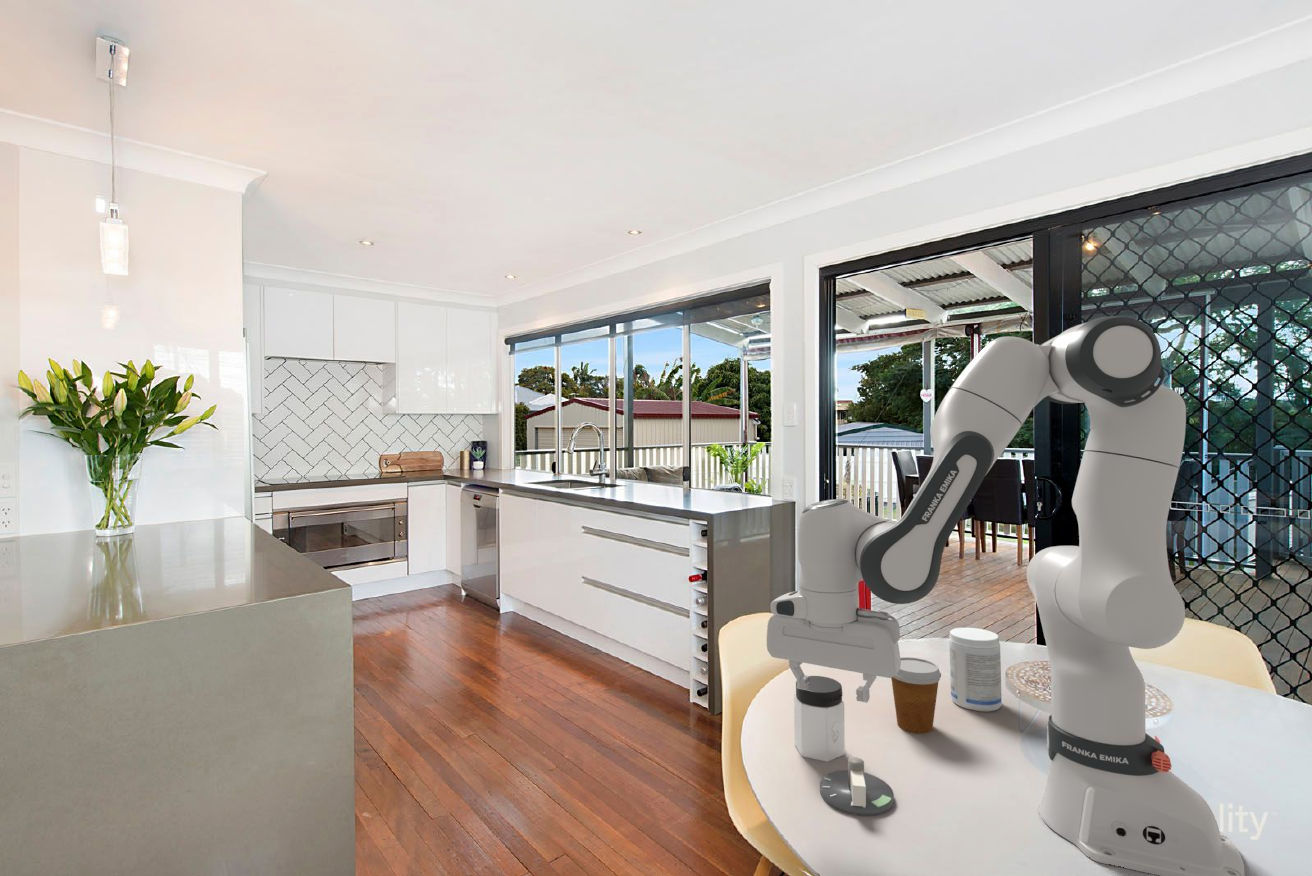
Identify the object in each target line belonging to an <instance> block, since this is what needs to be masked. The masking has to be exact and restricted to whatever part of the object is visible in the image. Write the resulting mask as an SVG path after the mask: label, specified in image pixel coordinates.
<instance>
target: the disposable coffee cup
mask: <svg viewBox="0 0 1312 876" xmlns="http://www.w3.org/2000/svg"><path fill="white" fill-rule="evenodd" d="M900 660H901V667H900V670H899V671H898V672H897V673H896V674H895V675H894V676H893V677H892V678H890V680H891V686H892V687H891V688H892V693H893V701H894V707H895V715H896V723H897V724H896V725H897V727H899V729H901V730H903V731H905V732H908V733H912V734H921V735H923V734H930V733H931V732H932V731H933V728H934V721H935V713H936V712H935V711H936V703H937V696H938V690H939V689H938V688H939V681H940V680H941V678H942V673H941V671H940V669H939V665H937V664H936V663H935V662H933V661H931V660H927V659H924V658H920V657H911V656H900Z"/></svg>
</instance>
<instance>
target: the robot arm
mask: <svg viewBox="0 0 1312 876" xmlns="http://www.w3.org/2000/svg"><path fill="white" fill-rule="evenodd" d="M1163 367H1164V366H1163V365H1162V350H1161V345H1160V342H1159V340H1158V338H1157V335H1156V334H1155V332H1154V331H1153V329H1152V328H1151V327H1150V326H1148V325H1147V324H1146V323H1144V322H1142V321H1141V320H1138V319H1135V318H1133V317H1129V316H1122V315H1119V316H1118V315H1112V316H1111V315H1110V316H1102V317H1101V316H1100V317H1098V318H1094V319H1091V320H1089V321H1087V322H1083V323H1080V324H1076V325H1074V326H1072V327H1070V328H1067V329H1066V330H1064V331H1062V332H1061V333H1060V334H1058V335H1056V336H1055V337H1052V338H1050V339H1048V340H1046V341H1044V342H1042V343H1041V344H1037V343H1034V342H1033V341H1031V340H1028V339H1026V338H1023V337H1018V336H1011V335H1008V336H1000V337H997V338H995V339H993V340H991V341H989V342H988V343H987V344H986V345H985V346H984V347H983V348H982V349H981V350H980V351H979V352H978V353H977V354H976V356H975V357H973V359H972V360H971V361H970V362H969V363H968V364H967V365H966V367H965V368H964V369H963V370H962V372H961V373H960V374H959V376H958V377H956V379H955V381H954V382H953V384H952V385H951V386H950V388H949V389H948V391H947V393H946V394H945V395H944V397H943V399H942V401H941V402H940V404H939V406H938V408H937V411H936V412H935V415H934V417H933V420H932V422H931V425H930V427H929V430H930V431H929V433H930V434H929V435H930V438H931V441H932V447H933V459H932V463H931V466H930V470H929V472H928V474H927V476H926V477H925V479H924V480H923V482H922V483H921V486H920V487H919V489H918V490H917V492H916V494H915V495H914V497H913V498H912V499H911V502H910V503H909V505H908V507H907V509H906V510H905V512H904V513H903V515H902V516H901V517H900V518H899V520H898V521H894V520H891V519H888V518H884V517H882V516H881V517H880V516H877V515H875V514H872V513H870V512H868V511H866V510H863V509H862V508H859V507H858V506H856V505H855V504H853V503H852V502H850V501H849V500H848V499H845V498H836V499H826V500H821V501H818V502H814V503H812V504H809V505H808V506H806V507H805V508H804V510H803V511H802V512H801V513H800V516H799V521H798V530H797V531H798V532H797V533H798V534H797V554H798V555H797V557H798V561H799V564H800V569H801V570H800V574H801V575H800V578H799V589H798V590H796V591H790V592H787V593H785V594H782V595H780V596H778V597H777V598H775V599H774V600H772V601H771V602H770V607H769V608H770V612H771V614H772V615H771V616H770V617H769V619H768V622H767V626H766V627H767V629H766V649H767V652H768V653H769V655H770V657H772V658H775V659H781V660H786V661H788V666H789V669H790V670H791V672H792V674H793V676H794V678H795V679H796V681H797V689H802V690H807V689H808V688H809V686H810V683H809V676H810V675H805V673H804V672H803V669H802V667H801V665H802V664H803V663H804V664H809V665H813V666H819V667H820V666H821V667H824V668H825V667H826V668H829V669H830V668H831V669H836V670H843V671H847V672H852V673H853V672H854V673H859V674H862V679H863V681H864V682H865V681H866V682H865V684H864V686H863V685H859V686H858V688H856V690H855V695H856V701H857V702H861V703H865V704H867V703H868V702H869V701H870V698H871V697H870V696H871V695H870V688H871V687H872V686H873V683H874V682H875V681H876V679H877V677H881V678H886V679H891V678H892V677H893V676H894V675H895V674H896V673H897V672H898V671H899V670H900V667H901V660H900V657H901V653H900V646H899V640H900V637H901V632H900V631H901V629H900V623H899V621H898V620H897V619H896V618H895V617H894V616H892V615H891V614H890V613H889V612H887V611H881V610H879V611H876V610H871V609H867V608H866V609H865V608H860V599H859V598H860V595H859V583H860V582H862V581H863V583H864V584H865V585H866V588H868V589H869V591H870V592H871V593H872V594H873V595H874V596H875V597H877V598H878V599H880V600H882V601H884V602H887V603H889V604H894V605H895V604H896V605H906V604H907V605H908V604H912V603H916V602H918V601H920V600H922V599H923V598H925V597H926V596H928V595H929V594H930V593H931V591H932V590H933V589H934V588H935V586H936V585H937V582H938V579H939V575H940V573H941V565H942V558H943V553H944V550H945V547H946V544H947V542H948V540H949V539H950V537H951V534H952V533H953V532H954V530H955V528H956V527H957V525H958V523H959V521H960V520H961V518H962V516H963V515H964V513H965V511H966V510H967V508H968V506H969V504H970V503H971V501H972V499H973V498H974V496H975V495H976V493H977V491H978V489H979V488H980V486H981V484H982V483H983V480H984V479H985V477H986V476H987V474H988V473H989V471H990V470H991V469H992V467H993V466H994V465H995V463H996V461H997V460H998V458H1000V456H1001V455H1002V454H1003V452H1004V451H1005V450H1006V448H1007V447H1008V445H1009V444H1011V442H1012V440H1013V439H1014V437H1015V436H1016V434H1017V433H1018V432H1019V431H1020V429H1021V427H1022V426H1023V424H1025V422H1026V420H1027V419H1028V417H1029V416H1030V413H1031V412H1032V410H1033V408H1035V407H1036V406H1037V405H1038V404H1039V403H1040V402H1041V401H1042V400H1045V401H1048V402H1052V403H1055V404H1056V403H1057V404H1062V405H1063V404H1065V405H1069V404H1070V405H1072V404H1078V403H1082V404H1083V403H1084V405H1085V407H1086V409H1087V411H1088V412H1087V413H1088V415H1089V433H1088V436H1087V440H1086V443H1085V447H1084V449H1083V450H1084V451H1083V454H1082V458H1081V462H1080V466H1079V469H1078V474H1077V477H1076V481H1075V486H1074V490H1073V493H1072V498H1071V507H1072V509H1073V512H1074V514H1075V515H1076V520H1077V524H1078V536H1079V537H1078V540H1079V542H1078V543H1079V544H1078V545H1056V546H1049V547H1046V548H1044V549H1041V550H1039V551H1038V552H1036V554H1034V555H1033V557H1032V558H1031V559H1030V561H1029V563H1028V565H1027V568H1026V582H1027V585H1028V587H1029V590H1030V592H1031V593H1032V595H1033V597H1034V599H1035V602H1036V606H1037V610H1038V614H1039V618H1040V623H1041V627H1042V632H1043V637H1044V639H1045V645H1046V648H1047V649H1046V651H1047V654H1048V659H1049V661H1048V662H1049V667H1050V694H1051V695H1050V698H1051V699H1050V700H1051V703H1050V704H1051V707H1050V708H1051V709H1050V710H1051V714H1050V715H1049V716H1048V721H1047V726H1046V744H1047V746H1046V747H1047V749H1046V750H1047V752H1048V753H1047V754H1048V757H1049V765H1048V773H1047V779H1046V784H1045V788H1044V792H1043V797H1042V799H1041V802H1040V805H1039V809H1038V811H1039V815H1040V817H1041V819H1042V820H1043V821H1044V823H1045V824H1046V825H1047V826H1048V827H1049V828H1050V829H1052V831H1054V832H1055V833H1056V834H1058V835H1060V836H1061V837H1062V838H1064V839H1066V840H1067V841H1069V842H1071V843H1072V844H1074V845H1075V846H1076V847H1078V849H1079V850H1081V852H1082V853H1083V855H1085V856H1087V857H1088V858H1089V857H1090V858H1091V860H1092V861H1095V862H1097V863H1101V864H1106V865H1109V864H1112V865H1111V866H1114V865H1115V866H1114V867H1118V866H1121V867H1120V868H1123V867H1124V869H1129V870H1133V871H1137V872H1141V873H1147V874H1151V875H1156V876H1246V872H1245V865H1244V861H1243V857H1242V856H1241V853H1240V851H1239V849H1238V848H1237V846H1236V845H1235V844H1234V843H1233V841H1232V840H1231V839H1230V838H1229V837H1228V836H1227V835H1225V834H1224V833H1223V832H1222V831H1220V829H1219V824H1218V823H1217V819H1216V816H1215V815H1214V812H1213V810H1212V809H1211V807H1210V806H1209V804H1208V802H1207V801H1206V800H1205V799H1204V797H1203V796H1202V795H1201V794H1200V793H1199V792H1197V791H1196V790H1195V789H1194V788H1192V787H1191V786H1189V784H1187V783H1186V782H1185V781H1183V780H1182V779H1180V777H1179V776H1177V775H1176V774H1175V773H1173V772H1172V771H1171V770H1172V763H1171V759H1170V757H1169V756H1168V754H1167V753H1165V747H1164V746H1163V744H1161V741H1160V740H1159V737H1157V735H1154V738H1153V737H1152V736H1150V734H1147V733H1146V682H1145V678H1144V676H1143V673H1142V672H1141V670H1140V668H1139V667H1138V666H1137V664H1136V662H1135V660H1134V658H1133V656H1132V653H1131V651H1130V648H1135V649H1140V650H1141V649H1142V650H1143V649H1144V650H1148V649H1149V650H1152V649H1158V648H1160V647H1163V646H1165V645H1167V644H1169V643H1170V642H1172V640H1174V639H1175V638H1176V637H1177V636H1178V635H1179V633H1180V632H1181V631H1182V628H1183V626H1184V623H1185V619H1186V607H1185V603H1184V600H1183V598H1182V596H1181V593H1179V591H1178V589H1177V588H1176V586H1175V585H1174V582H1173V579H1172V575H1171V572H1170V566H1169V560H1168V559H1169V558H1168V551H1167V550H1168V549H1167V547H1168V546H1167V523H1168V516H1169V511H1170V507H1171V504H1172V498H1173V494H1174V491H1175V490H1174V489H1175V485H1176V482H1177V479H1178V475H1179V471H1180V465H1181V461H1182V458H1183V452H1184V446H1185V445H1184V444H1185V439H1186V425H1187V424H1186V423H1187V406H1186V403H1185V400H1184V399H1183V397H1182V396H1181V394H1179V393H1178V392H1177V391H1175V390H1173V389H1172V388H1170V387H1168V386H1165V385H1162V384H1163V382H1164V380H1165V376H1166V373H1165V370H1164V368H1163ZM1158 378H1159V381H1158ZM1157 381H1158V383H1157ZM1129 647H1130V648H1129ZM1090 858H1089V859H1090Z"/></svg>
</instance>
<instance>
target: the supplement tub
mask: <svg viewBox="0 0 1312 876" xmlns="http://www.w3.org/2000/svg"><path fill="white" fill-rule="evenodd" d="M948 638H949V675H950V679H949V680H950V699H951V700H952V702H953V703H955V704H956V706H959V707H960V708H963V709H967V710H970V711H975V712H985V713H986V712H987V713H988V712H994V711H998V710H999V709H1000V708H1001V707H1002V703H1003V702H1002V663H1001V662H1002V661H1001V644H1000V638H999V635H998V634H997V633H995V632H994V631H991V630H987V629H983V628H975V627H955V628H952V629H951V630H950V631H949V637H948Z"/></svg>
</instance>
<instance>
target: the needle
mask: <svg viewBox="0 0 1312 876" xmlns="http://www.w3.org/2000/svg"><path fill="white" fill-rule="evenodd" d="M847 770H848V787H849V788H850V789H851V795H852V801H853V806H862V807H866V786H865V781H864V773H865V761H864V760H863V759H862V758H860V757H853V756H852V757H849V758H848V759H847Z"/></svg>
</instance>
